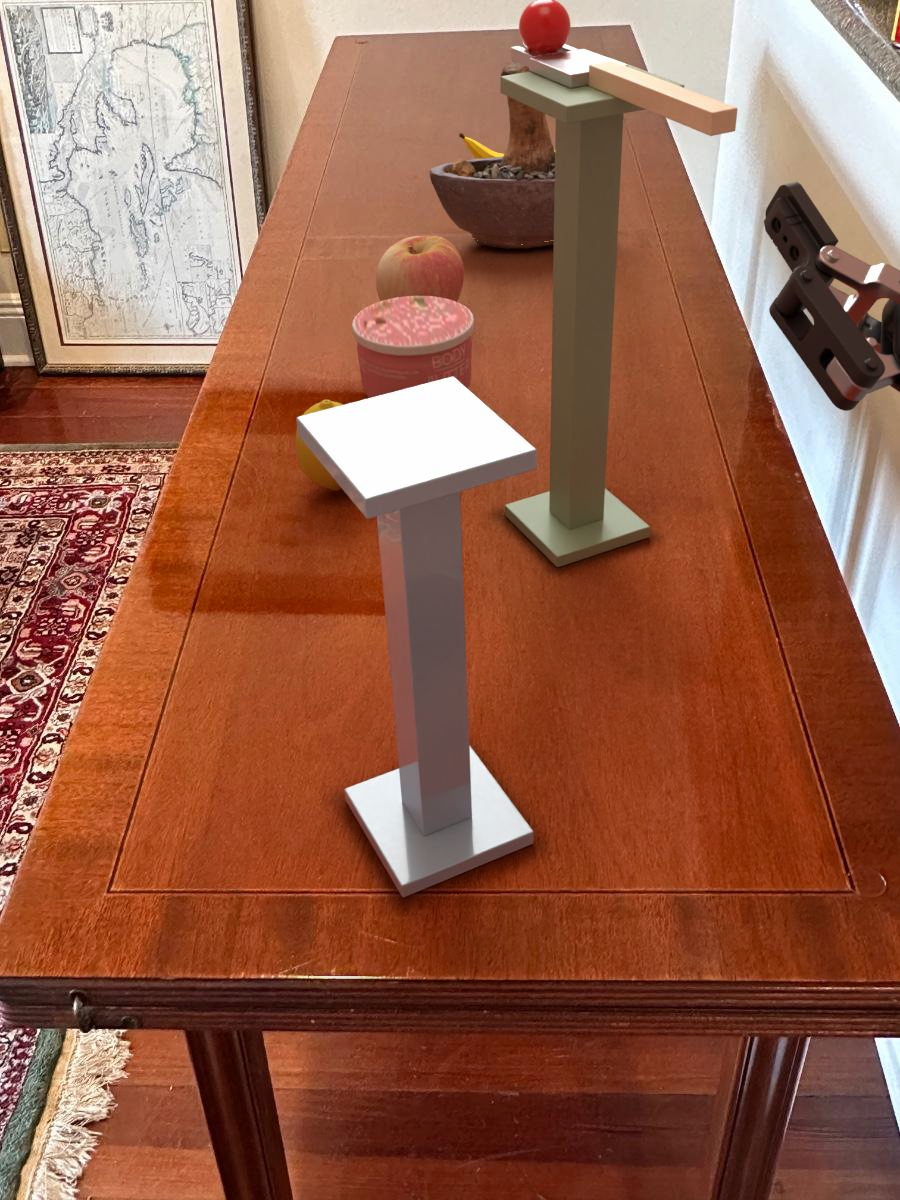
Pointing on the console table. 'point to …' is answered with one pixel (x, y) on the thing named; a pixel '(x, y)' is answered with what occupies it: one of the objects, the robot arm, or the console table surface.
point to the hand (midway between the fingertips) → (853, 178)
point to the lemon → (309, 460)
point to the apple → (420, 269)
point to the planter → (505, 184)
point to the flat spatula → (610, 73)
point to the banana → (479, 149)
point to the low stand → (425, 618)
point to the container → (412, 343)
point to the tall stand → (580, 323)
